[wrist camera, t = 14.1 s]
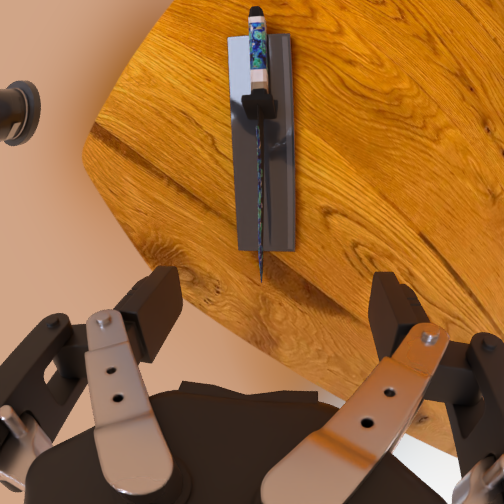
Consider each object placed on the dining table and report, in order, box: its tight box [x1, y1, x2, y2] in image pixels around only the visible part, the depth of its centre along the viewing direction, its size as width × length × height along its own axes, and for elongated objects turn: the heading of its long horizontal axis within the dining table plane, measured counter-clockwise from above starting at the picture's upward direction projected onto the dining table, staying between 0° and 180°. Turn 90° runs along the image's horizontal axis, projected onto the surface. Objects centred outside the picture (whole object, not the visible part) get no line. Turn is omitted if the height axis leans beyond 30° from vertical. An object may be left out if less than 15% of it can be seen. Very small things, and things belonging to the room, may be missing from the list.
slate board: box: [227, 33, 296, 252], centre depth 34 cm, size 7×26×2 cm, turn 2°
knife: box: [241, 6, 276, 283], centre depth 31 cm, size 31×3×4 cm, turn 179°
